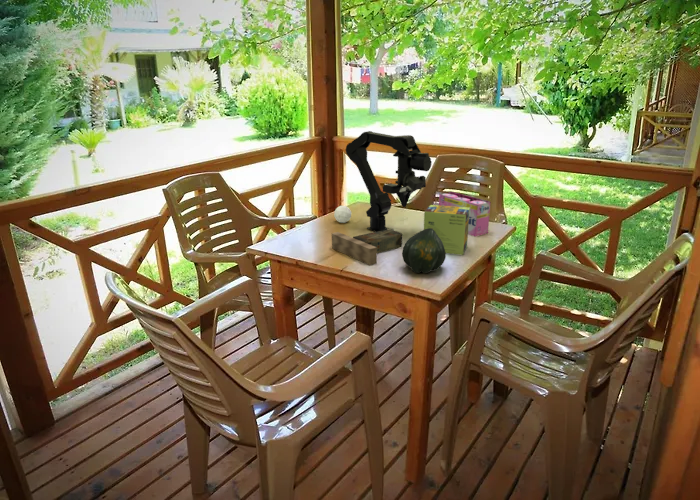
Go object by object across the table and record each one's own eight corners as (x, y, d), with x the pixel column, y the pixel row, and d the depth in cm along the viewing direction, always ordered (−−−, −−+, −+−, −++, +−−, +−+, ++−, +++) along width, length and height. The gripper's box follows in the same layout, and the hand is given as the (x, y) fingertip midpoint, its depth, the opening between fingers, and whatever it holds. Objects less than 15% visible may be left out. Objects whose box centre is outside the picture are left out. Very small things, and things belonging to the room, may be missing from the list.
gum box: (434, 223, 221) (436, 193, 216) (447, 220, 225) (449, 190, 220) (475, 236, 202) (477, 204, 197) (488, 233, 206) (491, 201, 201)
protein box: (463, 255, 182) (466, 214, 177) (422, 251, 187) (423, 211, 182) (467, 246, 191) (470, 207, 186) (428, 242, 196) (429, 204, 191)
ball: (339, 228, 224) (328, 216, 221) (345, 218, 229) (334, 205, 226) (351, 223, 219) (340, 209, 216) (357, 212, 225) (346, 199, 222)
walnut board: (331, 248, 192) (331, 233, 189) (338, 246, 193) (337, 231, 191) (370, 265, 174) (370, 249, 172) (376, 263, 176) (376, 247, 174)
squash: (391, 259, 164) (423, 228, 159) (397, 246, 178) (427, 217, 172) (422, 288, 165) (455, 258, 159) (426, 273, 179) (456, 245, 173)
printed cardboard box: (403, 247, 192) (403, 231, 189) (363, 258, 182) (362, 241, 180) (390, 242, 198) (391, 226, 195) (351, 252, 188) (350, 235, 186)
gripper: (401, 174, 184) (400, 215, 190) (436, 168, 195) (434, 206, 200) (381, 170, 193) (381, 209, 198) (416, 164, 203) (415, 201, 209)
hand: (404, 206), depth 201 cm, fingers closed
